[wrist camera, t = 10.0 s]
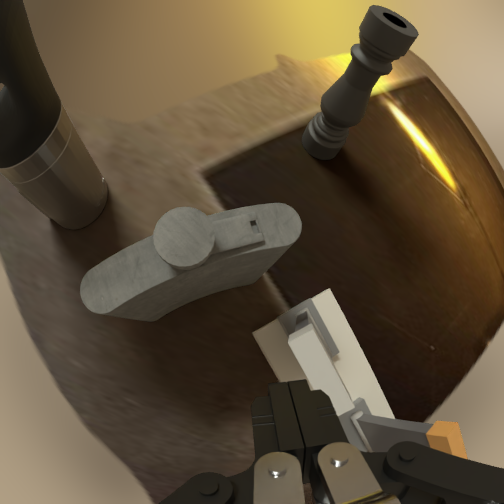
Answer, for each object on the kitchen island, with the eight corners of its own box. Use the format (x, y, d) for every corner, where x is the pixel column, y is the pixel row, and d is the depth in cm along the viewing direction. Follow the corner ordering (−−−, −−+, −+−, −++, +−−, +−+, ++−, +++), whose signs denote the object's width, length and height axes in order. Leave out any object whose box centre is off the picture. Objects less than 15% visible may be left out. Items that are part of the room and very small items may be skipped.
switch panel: (329, 464, 32) (337, 472, 29) (250, 330, 35) (253, 330, 32) (390, 419, 34) (401, 423, 32) (324, 288, 38) (332, 284, 35)
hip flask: (143, 325, 33) (71, 318, 14) (132, 294, 34) (56, 253, 15) (263, 279, 37) (322, 225, 18) (250, 249, 38) (294, 169, 19)
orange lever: (365, 451, 30) (458, 476, 15) (347, 418, 31) (447, 437, 16) (375, 442, 30) (468, 463, 16) (357, 409, 31) (457, 422, 17)
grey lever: (319, 360, 32) (330, 419, 17) (293, 314, 33) (287, 342, 18) (332, 353, 32) (355, 407, 17) (307, 306, 33) (312, 329, 18)
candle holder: (322, 167, 43) (408, 42, 19) (293, 139, 43) (356, 5, 19) (345, 148, 44) (427, 35, 20) (318, 123, 45) (383, 2, 21)
